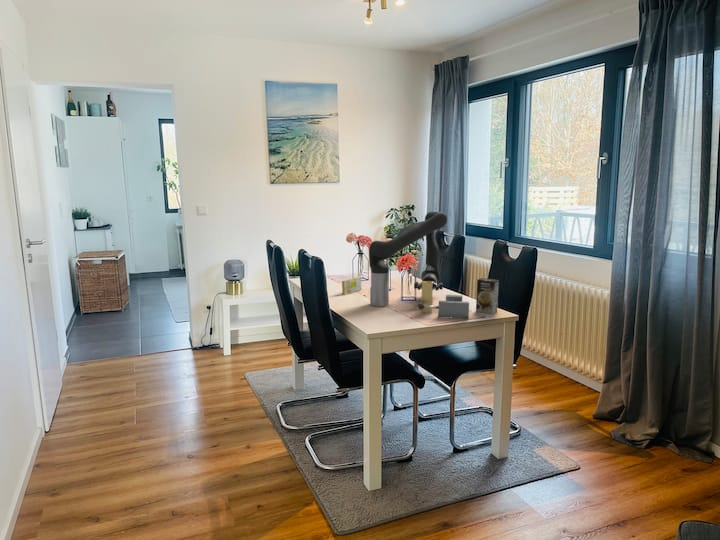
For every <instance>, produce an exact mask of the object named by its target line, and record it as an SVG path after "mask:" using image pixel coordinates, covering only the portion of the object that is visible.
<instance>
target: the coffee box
mask: <svg viewBox="0 0 720 540" xmlns="http://www.w3.org/2000/svg"><path fill="white" fill-rule="evenodd" d="M476 281H477V282H476V302H475V304H476V305H475V312H478V313H482V314H483V313H484V314H489V315H490V314H492V315H494V314H495V313H497V312H498V305H499V304H498V303H499V301H498V299H499V285H500V280H499V279H493V278H485V277H484V278H483V277H481V278H478V279H476Z"/></svg>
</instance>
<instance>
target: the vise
mask: <svg viewBox="0 0 720 540" xmlns="http://www.w3.org/2000/svg"><path fill="white" fill-rule="evenodd" d="M423 308H431V309H432V310H438V314H437V315H438V317H449V318H448V319H458V318H463V319H462V320H470V319H469V316H470V302H469V301H462V302H461V301H446V300H438V305H432V306H423V304H422V303H419V304H418V305H417V309H418V310H420V311H421V310H422V309H423ZM438 317H437V318H438ZM450 317H452V318H450Z"/></svg>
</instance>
